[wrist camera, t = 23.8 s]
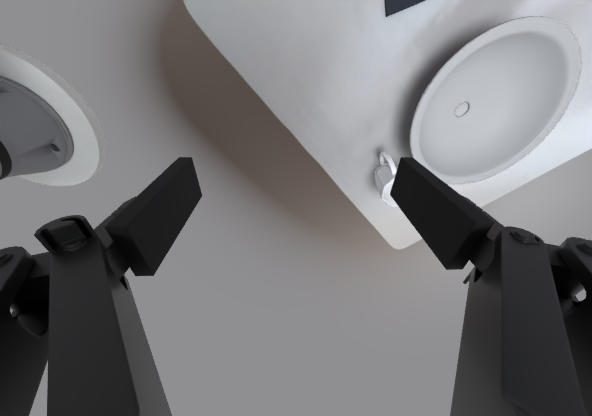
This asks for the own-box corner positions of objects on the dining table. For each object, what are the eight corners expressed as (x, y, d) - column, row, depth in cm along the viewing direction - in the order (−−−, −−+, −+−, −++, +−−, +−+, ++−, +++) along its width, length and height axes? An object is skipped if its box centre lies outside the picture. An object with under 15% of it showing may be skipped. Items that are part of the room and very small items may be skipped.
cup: (372, 191, 49) (385, 212, 42) (359, 153, 43) (373, 170, 37) (403, 179, 47) (422, 198, 40) (394, 137, 42) (415, 152, 35)
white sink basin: (404, 37, 33) (427, 33, 28) (569, 9, 32) (627, -1, 26) (387, 177, 47) (401, 192, 41) (502, 161, 46) (531, 175, 40)
